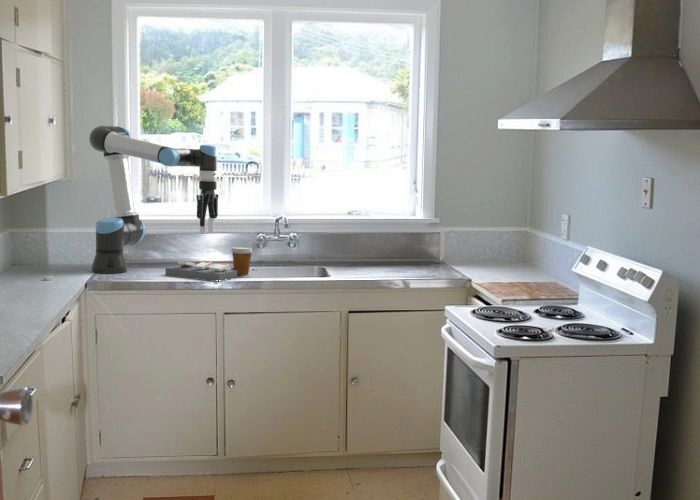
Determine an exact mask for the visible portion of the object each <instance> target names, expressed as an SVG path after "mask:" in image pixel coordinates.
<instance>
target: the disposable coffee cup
mask: <svg viewBox="0 0 700 500" xmlns="http://www.w3.org/2000/svg"><path fill="white" fill-rule="evenodd" d="M230 251H231V253H232V254H231V255H232V262H233V263H232V264H233V270H237V276H248V275H249V271H250V265H251V260H252V259H251V258H252V254H253V249H252V247H250V246H232V248H231V250H230Z"/></svg>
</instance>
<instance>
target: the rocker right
mask: <svg viewBox="0 0 700 500" xmlns="http://www.w3.org/2000/svg"><path fill="white" fill-rule="evenodd" d="M229 267H230V263H227V262H220V263H218V264H216V265H214V266H213V267H211V268H212V271H222V270H224V269H228V268H229Z"/></svg>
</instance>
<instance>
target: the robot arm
mask: <svg viewBox="0 0 700 500" xmlns="http://www.w3.org/2000/svg"><path fill="white" fill-rule="evenodd" d="M132 135H133V134H131V132H130V131H129V130H128V129H126V127H121V126H111V125H109V126H107V125H99V126H96V127H94V128H93V129H92V130H91V131H90V133H89V136H88V137H89V138H88V139H89V144H90V146H91V147H92V148H93V149H94V150H95V151H97V152H100V153H103V157H104V159H105V160H107V162H108V170H109V175H110V176H109V178H110V184H111V191H112V197H113V204H114V205H113V206H114V212H115V213H114V215H113V216H112V217H103V218H100V219H98V220H97V221H96V224H95V255H94V259H93V262H92V265H91V272H93V273H97V274H98V273H99V274H121V273H125V272H127V271H128V265H127V262H126V259H125V255H124V246H133V245H135V244H138V243H140V242H141V241H142V240H143V239H144V237H145V235H146V225H145V223H144V222H143V221H142V220H141V219H140V215H139V213H138V212H137V211H135V205H134V204H135V203H134V196H133V191H132V188H133V187H132V181H131V176H130V175H131V174H130V167H129V161H128V158H129V157H130V156H131V157H134V158H137V159H141V160H146V161H151V162H155V163H158V164H161V165H163V166H165V167H170V168H171V167H199V169H198V170H199V172H198V173H199V174H198V175H199V176H198V179H199V182H198V183H199V185H198V189H199V190H201V191H200V194H197V195H196V218H197V219H198V220H199V234H201V235H206V234H207V233H209V234H214V233H215V219H217V218H218V216H219V213H218V212H219V209H218V208H219V207H218V205H219V204H218V203H219V202H218V201H219V194H217V193H215V190H217V185H218V184H217V181H216V180H217V174H218V173H217V172H218V171H217V170H218V169H217V168H218V167H217V166H218V149H217V148H218V147H217V146H216V145H212V144H211V145H208V144H207V145H206V144H200V145H199V148H198V149H196V148H175V147H170V146H165V145H161V144H156V143H153V142H147V141H144V140H141V139H135V138H133V136H132ZM207 210H208V216H209V217H208V218H206V216H207Z"/></svg>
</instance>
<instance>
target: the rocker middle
mask: <svg viewBox="0 0 700 500" xmlns="http://www.w3.org/2000/svg"><path fill="white" fill-rule="evenodd" d="M212 265H213V261H209V260H207V261H206V260H203V261H201V262H200V263H197V264H195V269H205V268H207V267H210V266H212Z"/></svg>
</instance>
